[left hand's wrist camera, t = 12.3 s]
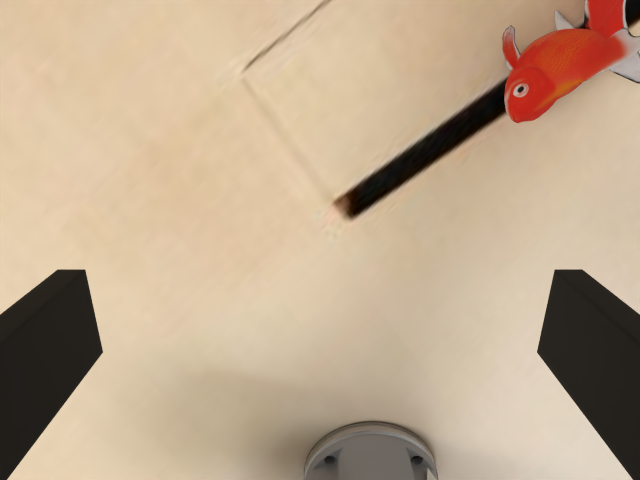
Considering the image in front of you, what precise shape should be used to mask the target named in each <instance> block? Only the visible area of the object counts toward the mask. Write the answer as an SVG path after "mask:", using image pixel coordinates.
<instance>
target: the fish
mask: <svg viewBox="0 0 640 480" xmlns="http://www.w3.org/2000/svg"><path fill="white" fill-rule="evenodd" d="M625 1H626V0H585V18H584V25H585V29H577V28H576V29H575V28H574V27H573V25H571V24H570V23H569V22H568V21H567V20H566V19H565V18H564V17H563V16H562V15H561V14H560V12H559V11H555V24H556V29H557V31H554V32H551V33H549V34H547V35H545V36H543V37H541V38H539V39H537V40H535V41H534V42H533V43H531V44H530V45H529V46H528V47H527V48H526V49H525V50H524V51H523V52H522V53H521V55H520V53H519V50H518V49H517V46H516V44H515V29H514V27H513V26H512V25H511V26H510V27H508V28H507V29H506V30H505V32H504V34H503V49H502V50H503V53H504V56H505V58H506V66H507V68H508V69H510V70H511V71H510V73H509V76H508V79H507V82H506V86H505V107H506V111H507V114H508V115H509V117H510V118H511V119H512V120H513V121H514V122H516V123H520V122H523V121H532V120H535V119H537V118H538V117H540V116H541V115H542V114H543V113H545V112H546V111H547V110H548V109H549V108H550V107H551V106H552V105H553V104H554V103H555V101H556V100H557V99H559V98H561V97H563V96H564V95H566V94H568V93H570V92H571V91H573V90H574V89H575V88H576V87H578V86H579V85H580V84H581V83H582V82H584V81H586V80H588V79H590V78H592V77H594V76H596V75H598V74H599V73H601V72H603V71H605V70H607V69H609V70H611V71H612V72H614V73H616V74H618V75H620V76H623V77H625V78H627V79H629V80H631V81H633V82H636V83H640V54H639V52H638V51H639V50H640V36H638V37H635V36H632V35H631V33H630V32H629V30H628V27H627V23H626V20H625Z"/></svg>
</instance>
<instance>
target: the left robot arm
mask: <svg viewBox="0 0 640 480" xmlns="http://www.w3.org/2000/svg"><path fill="white" fill-rule="evenodd" d="M102 353H103V350H102V346H101V341H100V336H99V332H98V327H97V322H96V318H95V313H94V308H93V304H92V299H91V294H90V290H89V285H88V280H87V276H86V271H85V270H57V271H55V272H54V273H53V274H52V275H50V276H49V277H48V278H46V279H45V280H44V281H43V282H41V283H40V284H39V285H38V286H36V287H35V288H34V289H32V290H31V291H30V292H29V293H27V294H26V295H25V296H24V297H22V298H21V299H20V300H18V301H17V302H16V303H15V304H13V305H12V306H11V307H9V308H8V309H7V310H6V311H4V312H3V313H2V314H1V315H0V480H7V479H8V478H9V476H10V475H11V474H12V472H13V471H14V470H15V468H16V467H17V466H18V464H19V463H20V462H21V460H22V459H23V458H24V456H25V455H26V454H27V452H28V451H29V450H30V448H31V447H32V446H33V444H34V443H35V442H36V440H37V439H38V438H39V436H40V435H41V434H42V432H43V431H44V430H45V428H46V427H47V426H48V424H49V423H50V422H51V420H52V419H53V418H54V416H55V415H56V414H57V412H58V411H59V410H60V408H61V407H62V406H63V405H64V403H65V402H66V401H67V399H68V398H69V397H70V395H71V394H72V393H73V391H74V390H75V389H76V387H77V386H78V385H79V383H80V382H81V381H82V379H83V378H84V377H85V375H86V374H87V373H88V371H89V370H90V369H91V367H92V366H93V365H94V363H95V362H96V361H97V359H98V358H99V357H100V355H101V354H102ZM537 353H538V354H539V355H540V357H541V358H542V359H543V361H544V362H545V363H546V365H547V366H548V367H549V369H550V370H551V371H552V373H553V374H554V375H555V377H556V378H557V379H558V381H559V382H560V383H561V385H562V386H563V387H564V389H565V390H566V391H567V393H568V394H569V395H570V397H571V398H572V399H573V401H574V402H575V403H576V405H577V406H578V407H579V408H580V410H581V411H582V412H583V414H584V415H585V416H586V418H587V419H588V420H589V422H590V423H591V424H592V426H593V427H594V428H595V430H596V431H597V432H598V434H599V435H600V436H601V438H602V439H603V440H604V442H605V443H606V444H607V446H608V447H609V448H610V450H611V451H612V452H613V454H614V455H615V456H616V458H617V459H618V460H619V462H620V463H621V464H622V466H623V467H624V468H625V470H626V471H627V472H628V474H629V475H630V476H631V478H632V479H633V480H640V315H639V314H638V313H637V312H636V311H634V310H633V309H632V308H631V307H629V306H628V305H627V304H625V303H624V302H623V301H622V300H620V299H619V298H618V297H616V296H615V295H614V294H613V293H611V292H610V291H609V290H608V289H606V288H605V287H604V286H602V285H601V284H600V283H599V282H597V281H596V280H595V279H594V278H592V277H591V276H590V275H588V274H587V273H586V272H585V271H583V270H555V271H554V276H553V280H552V285H551V290H550V294H549V299H548V304H547V308H546V313H545V318H544V322H543V327H542V332H541V336H540V341H539V346H538V350H537ZM304 480H438V474H437V470H436V466H435V463H434V459H433V456H432V454H431V452H430V450H429V448H428V447H427V445H426V444H425V443H424V442H423V441H422V440H421V439H420V438H419V437H418V436H416V435H415V434H413V433H412V432H410V431H408V430H406V429H404V428H401V427H399V426H396V425H392V424H387V423H379V422H365V423H357V424H352V425H349V426H345V427H342V428H340V429H338V430H335V431H333V432H332V433H330V434H328V435H327V436H325V437H324V438H323V439H321V440H320V441H319V442H318V443H317V444H316V445H315V446H314V448H313V449H312V450H311V452H310V454H309V456H308V458H307V460H306V464H305V472H304Z"/></svg>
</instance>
